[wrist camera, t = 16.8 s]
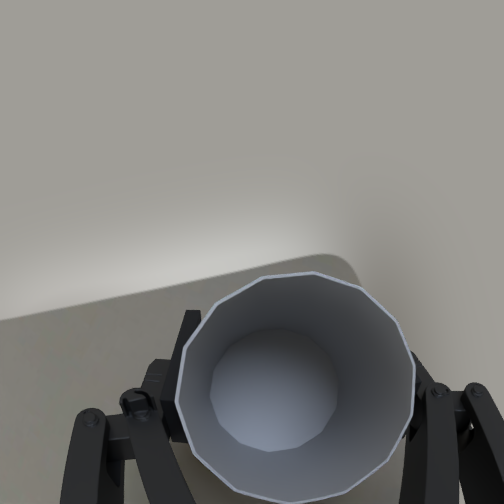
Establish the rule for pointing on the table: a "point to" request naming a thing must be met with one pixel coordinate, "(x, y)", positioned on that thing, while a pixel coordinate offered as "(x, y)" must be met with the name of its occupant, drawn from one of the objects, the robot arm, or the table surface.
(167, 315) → the table surface
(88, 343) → the table surface
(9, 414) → the table surface
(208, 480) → the table surface
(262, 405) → the cup
